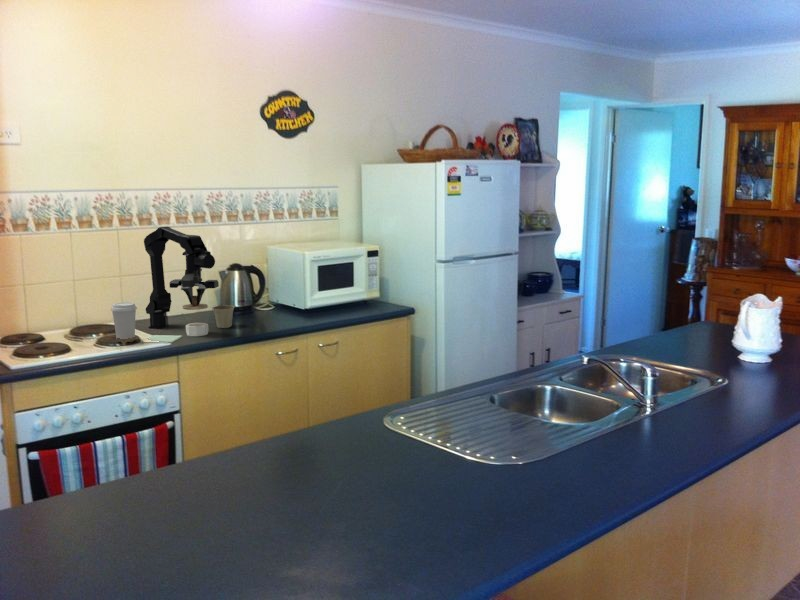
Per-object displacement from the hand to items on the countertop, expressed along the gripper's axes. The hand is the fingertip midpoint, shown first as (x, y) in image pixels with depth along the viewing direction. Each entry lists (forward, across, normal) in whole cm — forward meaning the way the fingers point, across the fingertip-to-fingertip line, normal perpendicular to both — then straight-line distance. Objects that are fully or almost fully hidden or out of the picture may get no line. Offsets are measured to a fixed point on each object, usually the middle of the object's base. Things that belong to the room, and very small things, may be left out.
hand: (195, 304), depth 300 cm
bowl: (+12, 0, 0) cm, 12 cm away
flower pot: (+13, +6, +16) cm, 22 cm away
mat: (+12, -10, -11) cm, 19 cm away
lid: (+1, 0, 0) cm, 1 cm away
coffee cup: (+13, -23, -16) cm, 30 cm away
